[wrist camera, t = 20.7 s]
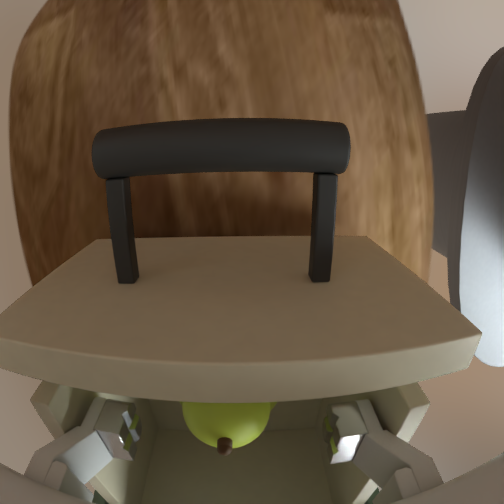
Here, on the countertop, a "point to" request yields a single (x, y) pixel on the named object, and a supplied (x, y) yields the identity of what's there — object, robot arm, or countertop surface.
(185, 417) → the pear
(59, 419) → the drawer
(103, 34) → the countertop surface
